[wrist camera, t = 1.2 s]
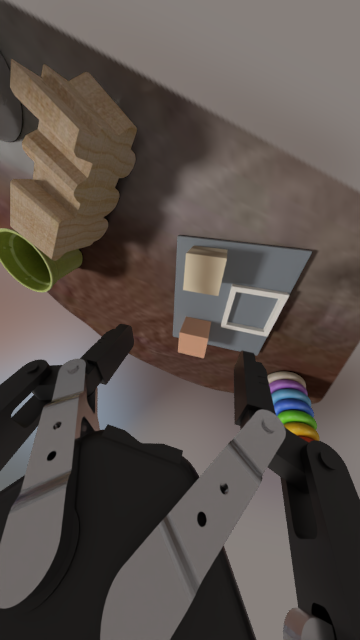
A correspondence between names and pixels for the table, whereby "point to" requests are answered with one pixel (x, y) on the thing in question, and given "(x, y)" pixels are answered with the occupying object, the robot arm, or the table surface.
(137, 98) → the table surface
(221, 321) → the board
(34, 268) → the plant pot
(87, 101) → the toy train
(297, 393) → the stacking toy
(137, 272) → the table surface
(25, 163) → the table surface
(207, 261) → the maple block
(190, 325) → the terracotta block
